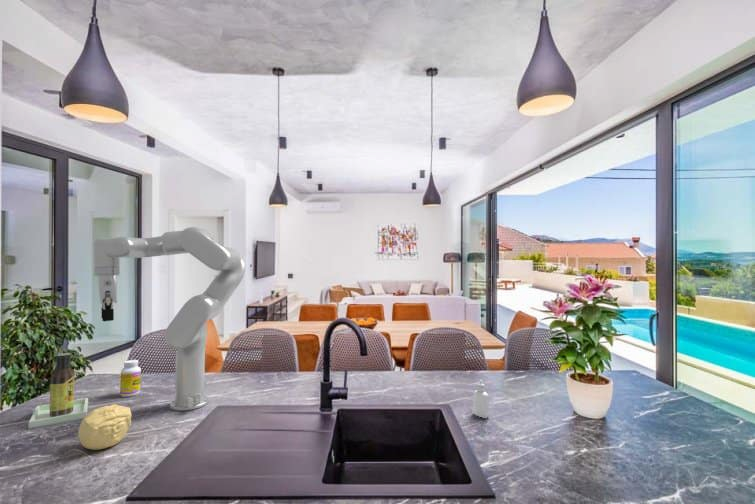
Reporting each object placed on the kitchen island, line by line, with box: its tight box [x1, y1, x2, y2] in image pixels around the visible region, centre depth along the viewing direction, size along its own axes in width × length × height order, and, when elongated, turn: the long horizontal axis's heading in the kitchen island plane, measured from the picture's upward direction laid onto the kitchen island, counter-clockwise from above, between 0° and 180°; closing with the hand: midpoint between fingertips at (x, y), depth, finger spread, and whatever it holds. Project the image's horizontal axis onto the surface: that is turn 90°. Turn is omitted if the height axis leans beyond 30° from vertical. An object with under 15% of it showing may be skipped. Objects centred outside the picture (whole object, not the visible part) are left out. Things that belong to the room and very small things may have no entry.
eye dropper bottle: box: [472, 379, 490, 419], centre depth 128 cm, size 4×6×12 cm
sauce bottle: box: [49, 352, 76, 417], centre depth 126 cm, size 6×6×20 cm
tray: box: [28, 397, 89, 430], centre depth 126 cm, size 16×14×2 cm
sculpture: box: [77, 403, 132, 451], centre depth 106 cm, size 12×12×11 cm
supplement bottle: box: [119, 359, 142, 398], centre depth 147 cm, size 7×7×13 cm
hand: (107, 319), depth 135 cm, fingers open, 9 cm apart
